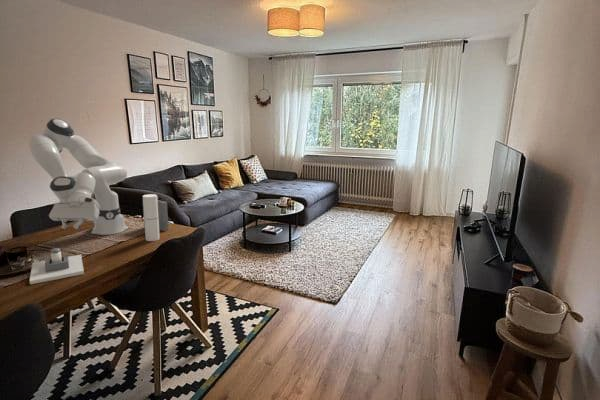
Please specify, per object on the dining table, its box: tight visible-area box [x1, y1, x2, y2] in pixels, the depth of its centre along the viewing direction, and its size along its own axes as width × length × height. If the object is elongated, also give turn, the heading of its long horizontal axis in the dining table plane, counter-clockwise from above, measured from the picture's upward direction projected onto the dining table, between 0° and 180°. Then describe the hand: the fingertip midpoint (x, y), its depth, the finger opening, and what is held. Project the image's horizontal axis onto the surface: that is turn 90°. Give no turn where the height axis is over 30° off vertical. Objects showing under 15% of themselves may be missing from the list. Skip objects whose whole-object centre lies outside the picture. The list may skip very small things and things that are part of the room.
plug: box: [50, 247, 62, 263], centre depth 141 cm, size 4×4×8 cm
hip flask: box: [142, 196, 169, 232], centre depth 197 cm, size 16×4×20 cm, turn 77°
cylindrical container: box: [142, 193, 160, 242], centre depth 179 cm, size 7×7×25 cm
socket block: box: [29, 254, 85, 285], centre depth 141 cm, size 20×18×4 cm
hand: (69, 228), depth 150 cm, fingers open, 3 cm apart
